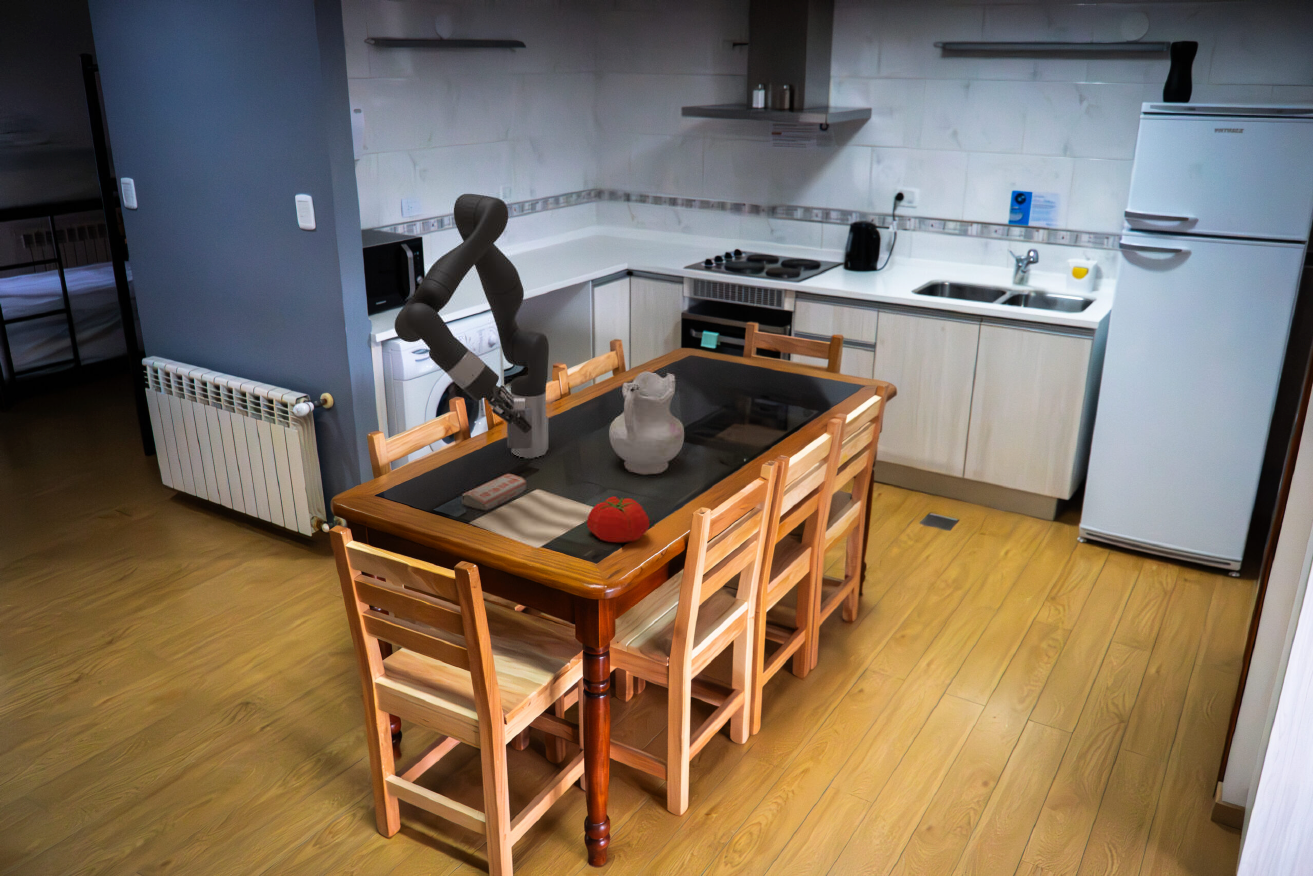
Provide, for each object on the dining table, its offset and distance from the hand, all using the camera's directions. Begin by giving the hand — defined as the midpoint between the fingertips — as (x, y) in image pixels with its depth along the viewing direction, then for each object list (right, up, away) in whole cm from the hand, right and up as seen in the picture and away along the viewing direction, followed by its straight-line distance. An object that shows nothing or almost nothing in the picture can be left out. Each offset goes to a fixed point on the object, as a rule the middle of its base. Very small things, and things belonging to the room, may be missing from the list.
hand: (528, 427), depth 225 cm
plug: (-2, -4, +1) cm, 5 cm away
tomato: (+20, -25, -1) cm, 32 cm away
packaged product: (-10, -18, +14) cm, 25 cm away
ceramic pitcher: (+25, -10, +38) cm, 47 cm away
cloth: (+1, -22, +5) cm, 22 cm away
